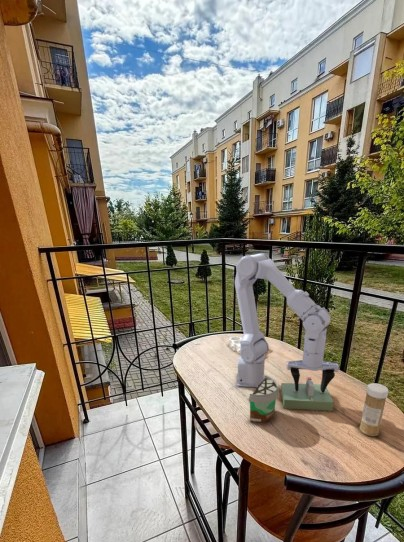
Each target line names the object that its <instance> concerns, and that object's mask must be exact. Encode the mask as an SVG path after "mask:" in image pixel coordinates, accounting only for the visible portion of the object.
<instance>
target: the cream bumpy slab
mask: <svg viewBox="0 0 404 542" xmlns="http://www.w3.org/2000/svg"><path fill="white" fill-rule="evenodd" d="M242 337H243V336H242ZM242 337H241V336H231V337H229V339H228V346H229V348H230V349H232V351H234V352H236V353H238V354H239V355H240V348H241V344H240V342H241V339H242Z"/></svg>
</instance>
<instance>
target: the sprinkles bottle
mask: <svg viewBox="0 0 404 542" xmlns="http://www.w3.org/2000/svg"><path fill="white" fill-rule="evenodd" d="M365 392H366V393H365V394H366V395H365V400H364V404H363V410H362V414H361V422H360V425H359V430H360V431H361V432H362V434H364V435H366V436H370V437H376V436H378V435H379V434H380V429H381V425H382V421H383V416H384V409H385V406H386V401H387V397H388V395H389V388H388V387H387V386H385V385H384V384H380V383H375V382H372V383H368V384H367V386H366V390H365Z"/></svg>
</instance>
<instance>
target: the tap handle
mask: <svg viewBox="0 0 404 542" xmlns="http://www.w3.org/2000/svg"><path fill="white" fill-rule="evenodd" d="M305 384H306V390H307V394H308V396H310V397H313V394H314V384H315V383H314V382H313V380H312V377H310V376H309V377H306V379H305Z"/></svg>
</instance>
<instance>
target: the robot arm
mask: <svg viewBox="0 0 404 542" xmlns="http://www.w3.org/2000/svg"><path fill="white" fill-rule="evenodd" d="M235 268H236V274H235V277H234V288H235V292H236V298H237V304H238V309H239V314H240V320H241V321H240V322H241V327H242V332H243V335H242V339H241V342H240V344H241V348H240V354H239V355H240V357H238V358H237V372H236V379H237V386H238V387H245V388H246V387H247V388H257V387H258V385H259V384H260V383H261V382H262V381H263V380H264V376H265V362H266V358H265V357H266V353H268V351H269V349H270V347H269V342H268V341H267V340H266V337H265V334H264V333H263V332H262V331H261V329H260V325H259V319H258V317H259V316H258V312H257V305H256V300H255V294H254V287H253V285H254V284H255V283H256V281H257V280H258V279H260V280H267V281H268V282H269V283H270V284H271V285H272V286H274V287H275V288H276V289H277V290H278V291H279V292H280V293H281V294H282V295H283V296H284V297H285V298H286V305H287V306H288V307H289V308H290V309H291V310H292V312H294V313H295V315H296V316H297V317H298V318H299V319H300V320H301V321H302V327H303V329H304V330H305V332H304V339H303V341H304V342H303V350H302V359H299V360H289V361H288V360H287V361H286V370H288V371H290V374H291V377H292V379H293V381H294V382H293V383H295V390H296V391H298V388H299V384H300V383H299V382H300V378H301V373H300V370H305V371H312V372H313V371H314V372H315V371H316V372H317V371H321V382H320V385H321V391H322V393H324V392H325V389H326V387H327V388H328V385H329V384H330V382H331V381H332V380H334V378H335V376H336V375H335V374H336V373H338V372H339V368H340V366H339V364H338V362H331V361H324V358H325V357H324V356H325V349H326V342H327V331H328V328H327V327H328V326H329V324H330V323H331V321H332V317H331V314H330V312H329V311H328V309H326V308H323V307H321V306H320V305H319V304H318V305H317V303H316V302H315V301H314V300H312V298H311V297H309V296H310V294H309V293H308V292H307V291H304V290H303V289H296V288H295V286H293V284H292V283H291V282H290V281H289V279H287V278H286V276H285V275H284V274H283V272H281V270H280V269H279V268H278V267H277V266H276V264H275V262H274V260H273V259H272V258H270V257H269V256H268V254H266V253H263V252H259V253H256V254H251V255H244V256H242V257H241V258H240V259H239V260H238V261H237V263H236V265H235Z"/></svg>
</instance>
